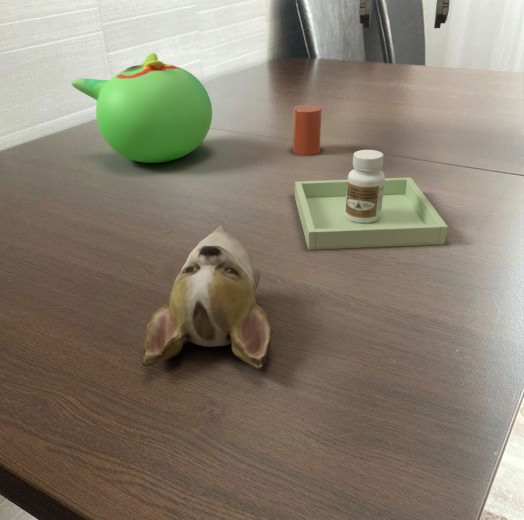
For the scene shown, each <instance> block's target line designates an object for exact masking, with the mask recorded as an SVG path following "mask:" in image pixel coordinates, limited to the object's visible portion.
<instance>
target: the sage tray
mask: <svg viewBox="0 0 524 520" xmlns="http://www.w3.org/2000/svg"><path fill="white" fill-rule="evenodd" d="M347 182H348V179H329V180H328V179H327V180H303V181H302V180H300V181H299V180H298V181H294V200H295V203H296V207H297V212H298V216H299V220H300V223H301V227H302V231H303V234H304V238H305V243H306V246H307V250H330V249H331V250H332V249H333V250H334V249H357V248H359V249H360V248H381V247H383V248H385V247H407V246H408V247H410V246H430V245H431V246H433V245H445V244H446V239H447V233H448V228H449V226H448V225H447V223H446V222H445V221H444V219H443V218H442V217H441V215H440V214H439V212H438V211H437V210H436V209H435V207H434V206H433V205H432V204H431V202H430V201H429V200H428V198H427V197H426V195H425V194H424V193H423V191H422V190H421V189H420V188H419V185H417V184H416V182H415V181H414V180H413V178H412V177H385V183H384V191H383V200H382V209H381V216H380V218H379V219H378V220H377V221H375V222H371V223H359V222H354V221H351V220H349V219H348V218H347V217H346V215H345V208H346V195H347Z"/></svg>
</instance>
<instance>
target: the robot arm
mask: <svg viewBox="0 0 524 520" xmlns="http://www.w3.org/2000/svg"><path fill="white" fill-rule="evenodd" d="M450 3H451V1H450V0H436V4H435V13H434V14H435V15H434V22H433V23H434V24H433V25H434V26H433V29H440V28H441V25H442V24H446V22H447V20H448V17H449V16H448V15H449V13H450V12H449V11H450ZM358 9H359V10H358V21H359V24H361V25H362V24H363V29H370V26H371V18H372V10H373V0H359V8H358Z"/></svg>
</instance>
